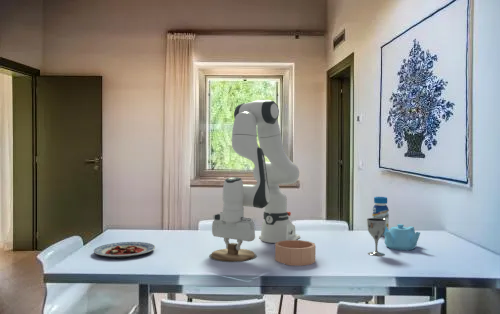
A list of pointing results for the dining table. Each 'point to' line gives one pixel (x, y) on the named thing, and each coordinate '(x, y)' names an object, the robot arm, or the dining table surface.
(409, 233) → the teapot
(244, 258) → the lid
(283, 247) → the bowl
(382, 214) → the beverage bottle
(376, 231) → the wine glass
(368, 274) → the dining table surface
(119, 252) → the ceramic plate
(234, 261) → the tray
